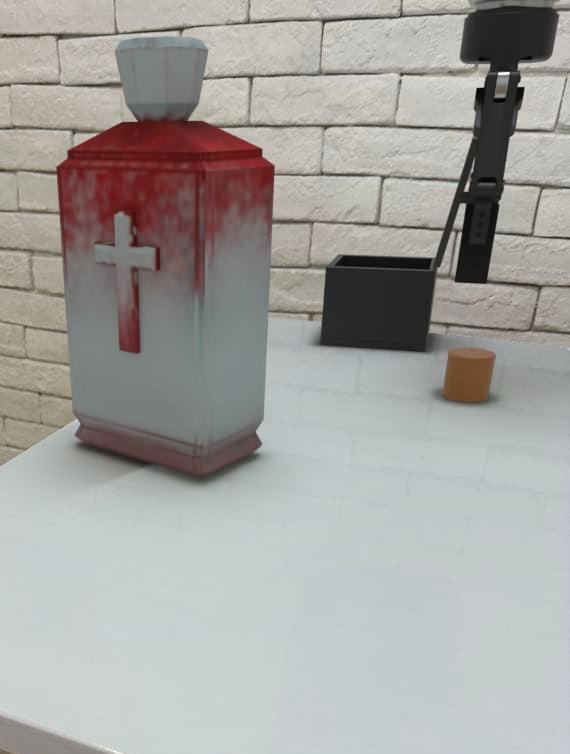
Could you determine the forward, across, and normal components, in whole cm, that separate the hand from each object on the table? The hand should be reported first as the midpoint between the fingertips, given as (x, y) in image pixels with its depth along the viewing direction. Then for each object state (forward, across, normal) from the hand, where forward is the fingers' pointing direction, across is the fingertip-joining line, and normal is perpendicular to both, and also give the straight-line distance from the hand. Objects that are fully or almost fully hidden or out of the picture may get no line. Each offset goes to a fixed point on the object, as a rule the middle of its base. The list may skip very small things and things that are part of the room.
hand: (471, 271), depth 79 cm
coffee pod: (+12, +2, +1) cm, 12 cm away
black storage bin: (+12, -21, -10) cm, 26 cm away
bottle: (+12, +25, -22) cm, 36 cm away
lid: (-5, -21, -3) cm, 22 cm away
